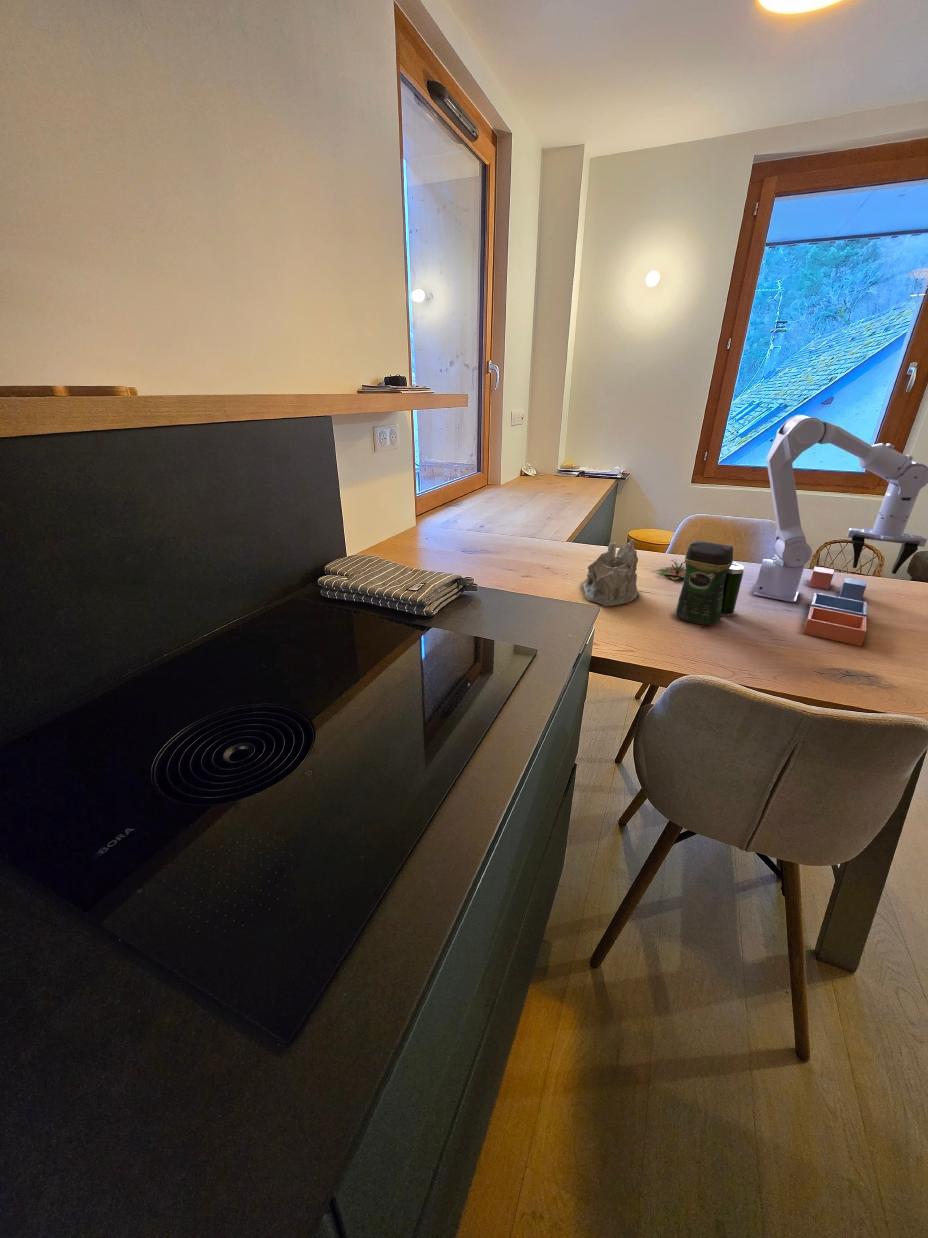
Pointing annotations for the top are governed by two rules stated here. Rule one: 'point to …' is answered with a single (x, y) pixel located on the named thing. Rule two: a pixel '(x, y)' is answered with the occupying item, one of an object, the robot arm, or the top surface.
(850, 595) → the blue block
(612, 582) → the grey jagged hollow piece
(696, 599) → the coffee jar
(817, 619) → the terracotta bin
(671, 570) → the lily flower
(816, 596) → the blue bin
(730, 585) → the beer can
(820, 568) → the terracotta block
